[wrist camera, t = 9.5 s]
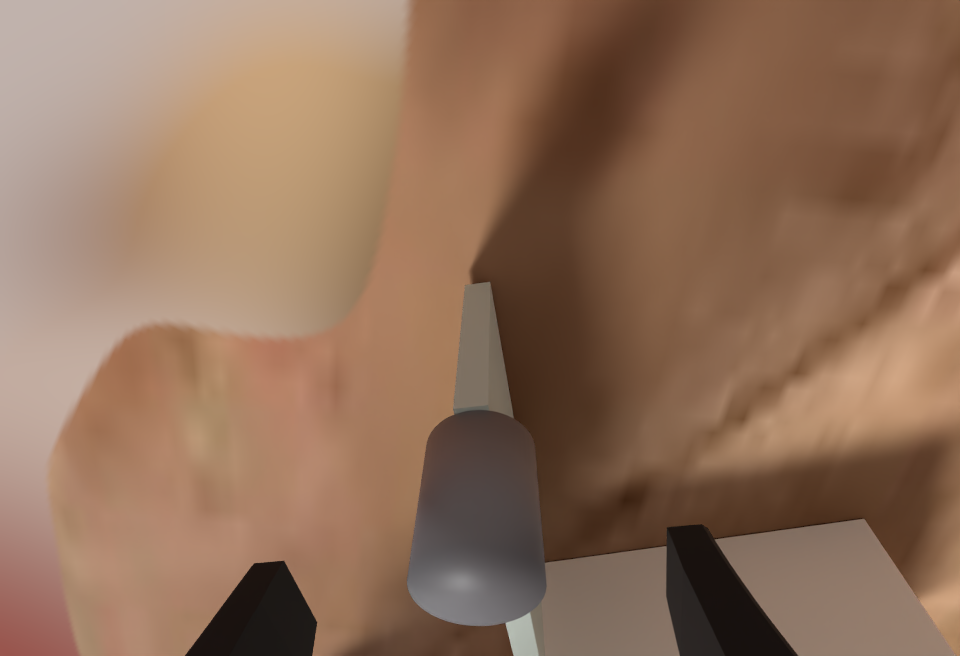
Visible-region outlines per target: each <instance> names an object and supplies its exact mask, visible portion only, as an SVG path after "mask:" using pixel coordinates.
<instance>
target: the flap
mask: <svg viewBox="0 0 960 656" xmlns="http://www.w3.org/2000/svg"><path fill="white" fill-rule="evenodd" d="M453 410H454V414H455V415H452V416H450V417H448V418H446V419H445V420H443V421H442V422H440V423H439V424H438V425H437V426H436V427H435V428H434V429H433V431H432V432H431V434H430V436H429V438H428V441H427V446H426V452H425V459H424V466H423V473H422V480H421V487H420V494H419V501H418V508H417V515H416V521H415V528H414V535H413V542H412V549H411V556H410V563H409V570H408V577H407V587H408V591H409V593H410V595H411V597H412V598H413V600H414V601H415V602H416V603H417V604H418V605H419V606H420V607H421V608H422V609H423V610H425V611H426V612H428V613H429V614H431V615H433V616H435V617H437V618H439V619H442V620H445V621H448V622H452V623H456V624H461V625H469V626H490V625H498V624H503V623H506V627H507V631H508V635H509V639H510V643H511V647H512V651H513V656H545V646H544V632H543V619H542V605H541V601H542V599H543V598H544V595H545V593H546V587H547V583H546V571H545V559H544V547H543V535H542V523H541V511H540V499H539V487H538V475H537V463H536V451H535V444H534V440H533V438H532V436H531V434H530V433H529V431H528V430H527V429H526V428H525V427H524V426H523V425H522V424H521V423H520V422H518V421H517V420H515V419H514V416H513V410H512V404H511V398H510V393H509V387H508V381H507V375H506V370H505V364H504V358H503V352H502V347H501V341H500V335H499V329H498V324H497V318H496V312H495V307H494V301H493V295H492V289H491V284H490V282H484V283H477V284H470V285H465V291H464V302H463V312H462V323H461V333H460V343H459V354H458V364H457V375H456V385H455V396H454V406H453Z"/></svg>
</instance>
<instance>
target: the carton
mask: <svg viewBox="0 0 960 656" xmlns="http://www.w3.org/2000/svg"><path fill="white" fill-rule="evenodd" d="M715 541H716V543H717V544H718V546H719V547H720V549H721V550H722V552H723V554H724V555H725V557H726V558H727V560H728V561H729V563H730V564H731V566H732V567H733V569H734V570H735V571H736V573H737V574H738V576H739V577H740V579H741V580H742V582H743V583H744V584H745V586H746V587H747V589H748V590H749V591H750V593H751V594H752V596H753V597H754V598H755V600H756V601H757V603H758V604H759V605H760V607H761V608H762V609H763V611H764V612H765V613H766V615H767V616H768V617H769V619H770V620H771V621H772V623H773V624H774V625H775V626H776V628H777V629H778V630H779V632H780V633H781V634H782V635H783V637H784V638H785V639H786V641H787V642H788V643H789V644H790V646H791V647H792V648H793V650H794V651H795V652H796V653H797V655H798V656H956V655H955V653H954V652H953V650H952V649H951V647H950V646H949V644H948V643H947V641H946V640H945V638H944V637H943V635H942V634H941V632H940V631H939V629H938V628H937V626H936V625H935V623H934V622H933V620H932V619H931V617H930V616H929V614H928V613H927V611H926V610H925V608H924V607H923V606H922V604H921V603H920V601H919V600H918V598H917V597H916V595H915V594H914V592H913V591H912V589H911V588H910V586H909V585H908V583H907V582H906V580H905V579H904V577H903V576H902V574H901V573H900V571H899V570H898V568H897V567H896V565H895V564H894V562H893V561H892V559H891V558H890V556H889V555H888V553H887V552H886V550H885V549H884V547H883V546H882V544H881V543H880V542H879V540H878V539H877V537H876V536H875V534H874V533H873V531H872V530H871V528H870V527H869V525H868V524H867V522H866V521H865V519H859V520H851V521H844V522H837V523H830V524H822V525H815V526H808V527H801V528H794V529H786V530H779V531H772V532H765V533H757V534H750V535H743V536H736V537H728V538H721V539H715ZM666 557H667V546H663V547H656V548H649V549H642V550H634V551H627V552H620V553H613V554H605V555H598V556H591V557H584V558H576V559H569V560H562V561H555V562H547V563H545V571H546V583H547V587H546V593H545V595H544V598H543V599H542V601H541V605H542V619H543V632H544V646H545V656H680V654H679V650H678V646H677V642H676V638H675V633H674V629H673V625H672V620H671V616H670V612H669V607H668V603H667V598H666Z"/></svg>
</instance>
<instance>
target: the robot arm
mask: <svg viewBox="0 0 960 656" xmlns="http://www.w3.org/2000/svg"><path fill="white" fill-rule="evenodd" d="M666 598H667V603H668V607H669V612H670V616H671V620H672V625H673V629H674V633H675V638H676V642H677V646H678V650H679V654H680V656H798V655H797V653H796V652H795V651H794V650H793V648H792V647H791V646H790V644H789V643H788V642H787V641H786V639H785V638H784V637H783V635H782V634H781V633H780V632H779V630H778V629H777V628H776V626H775V625H774V624H773V623H772V621H771V620H770V619H769V617H768V616H767V615H766V613H765V612H764V611H763V609H762V608H761V607H760V605H759V604H758V603H757V601H756V600H755V598H754V597H753V596H752V594H751V593H750V591H749V590H748V589H747V587H746V586H745V584H744V583H743V582H742V580H741V579H740V577H739V576H738V574H737V573H736V571H735V570H734V569H733V567H732V566H731V564H730V563H729V561H728V560H727V558H726V557H725V555H724V554H723V552H722V550H721V549H720V547H719V546H718V544H717V543H716V541H715V539H714V538H713V536H712V534H711V533H710V531H709V529H708V528H707V527H705V526H704V525H702V524H701V525H689V526H678V527H667V557H666ZM316 626H317V621H316V619H315V618H314V616H313V614H312V612H311V610H310V608H309V606H308V605H307V603H306V601H305V599H304V597H303V595H302V593H301V592H300V590H299V588H298V586H297V584H296V582H295V580H294V579H293V577H292V575H291V573H290V571H289V569H288V567H287V565H286V564H285V562H284V561H277V562H265V563H254V564H253V566H252V567H251V568H250V569H249V571H248V572H247V573H246V575H245V576H244V577H243V579H242V580H241V581H240V583H239V584H238V585H237V587H236V588H235V589H234V591H233V592H232V593H231V595H230V596H229V597H228V599H227V600H226V602H225V603H224V604H223V606H222V607H221V608H220V610H219V611H218V612H217V614H216V615H215V616H214V618H213V619H212V620H211V622H210V623H209V624H208V626H207V627H206V629H205V630H204V631H203V633H202V634H201V635H200V637H199V638H198V639H197V641H196V642H195V643H194V645H193V646H192V647H191V648H190V650H189V651H188V652H187V654H186V655H185V656H312V653H313V646H314V640H315V633H316Z"/></svg>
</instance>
